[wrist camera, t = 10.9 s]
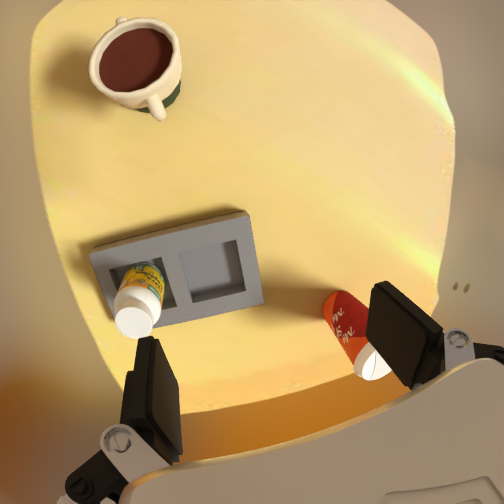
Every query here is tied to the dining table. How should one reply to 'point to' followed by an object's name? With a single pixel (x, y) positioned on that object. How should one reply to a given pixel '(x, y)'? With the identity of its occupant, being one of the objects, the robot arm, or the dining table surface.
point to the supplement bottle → (139, 300)
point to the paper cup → (354, 334)
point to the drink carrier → (189, 267)
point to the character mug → (138, 65)
